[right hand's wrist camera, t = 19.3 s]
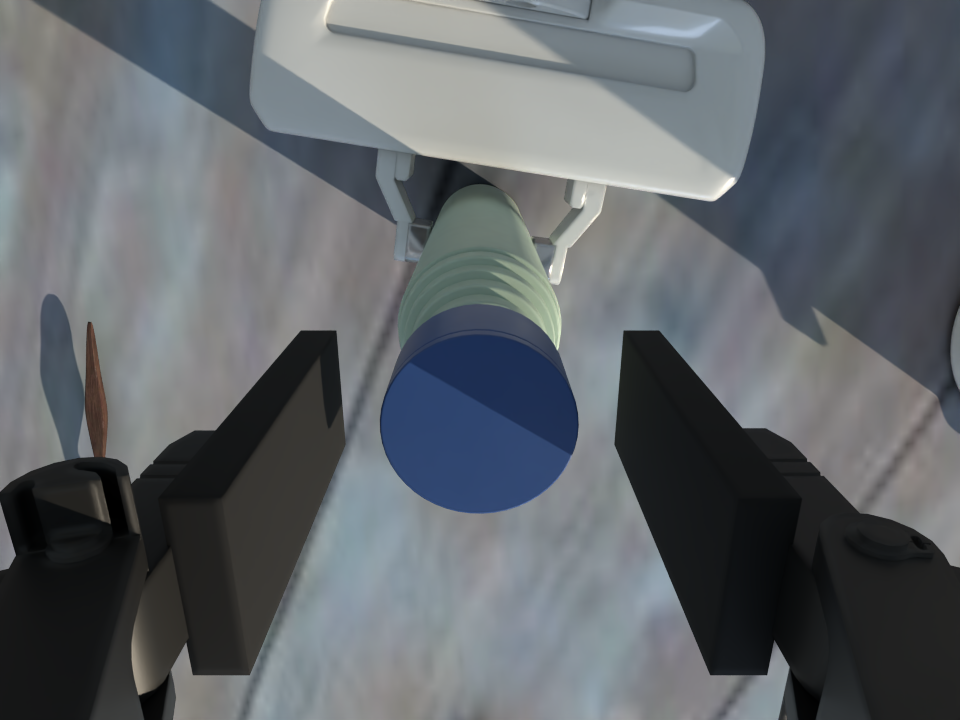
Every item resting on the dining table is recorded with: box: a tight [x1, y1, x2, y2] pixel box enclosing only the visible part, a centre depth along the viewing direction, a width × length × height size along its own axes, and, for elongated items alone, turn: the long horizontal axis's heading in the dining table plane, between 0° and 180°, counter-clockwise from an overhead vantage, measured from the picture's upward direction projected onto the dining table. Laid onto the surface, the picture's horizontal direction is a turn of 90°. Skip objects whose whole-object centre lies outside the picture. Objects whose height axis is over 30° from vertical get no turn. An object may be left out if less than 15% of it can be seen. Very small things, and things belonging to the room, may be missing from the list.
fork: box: [85, 322, 108, 457], centre depth 39 cm, size 3×16×2 cm, turn 172°
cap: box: [380, 304, 579, 514], centre depth 13 cm, size 4×4×2 cm
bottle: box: [398, 184, 561, 351], centre depth 24 cm, size 5×5×24 cm
